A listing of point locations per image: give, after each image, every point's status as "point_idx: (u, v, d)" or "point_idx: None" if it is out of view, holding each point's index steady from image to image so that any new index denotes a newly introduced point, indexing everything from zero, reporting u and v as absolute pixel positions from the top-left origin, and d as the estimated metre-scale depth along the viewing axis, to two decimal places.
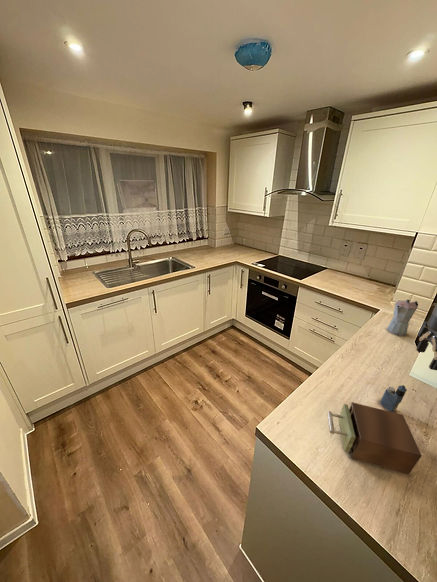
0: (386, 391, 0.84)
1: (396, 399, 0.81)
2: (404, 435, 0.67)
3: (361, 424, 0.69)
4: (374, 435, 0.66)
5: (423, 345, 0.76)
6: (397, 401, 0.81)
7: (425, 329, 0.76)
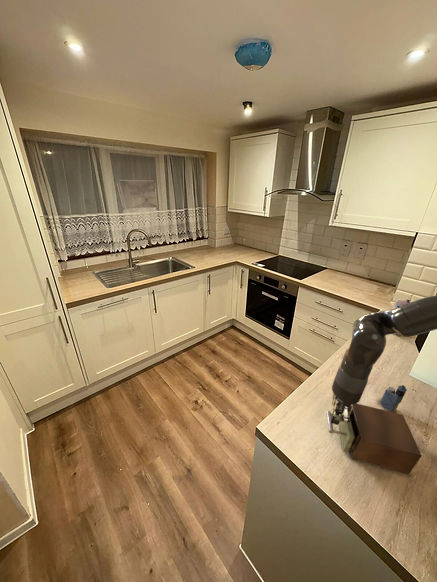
0: (386, 391, 0.84)
1: (396, 399, 0.81)
2: (404, 435, 0.67)
3: (361, 424, 0.69)
4: (374, 435, 0.66)
5: None
6: (397, 401, 0.81)
7: None
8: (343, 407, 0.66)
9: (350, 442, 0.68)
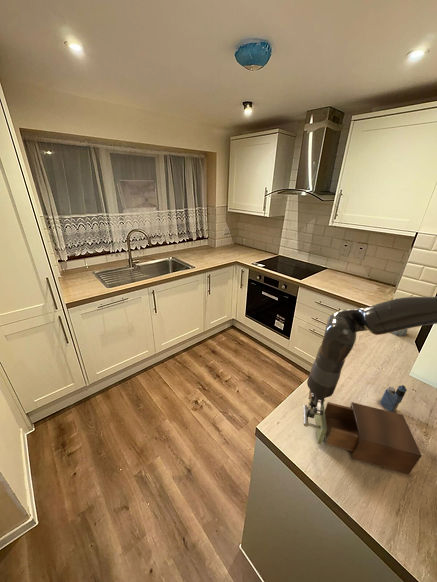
0: (386, 391, 0.84)
1: (396, 399, 0.81)
2: (404, 435, 0.67)
3: (361, 424, 0.69)
4: (374, 435, 0.66)
5: None
6: (397, 401, 0.81)
7: None
8: (316, 400, 0.67)
9: (323, 434, 0.70)
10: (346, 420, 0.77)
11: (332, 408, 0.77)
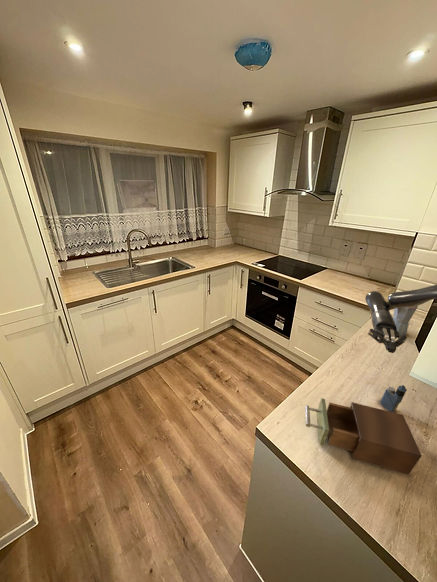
0: (386, 391, 0.84)
1: (396, 399, 0.81)
2: (404, 435, 0.67)
3: (361, 424, 0.69)
4: (374, 435, 0.66)
5: None
6: (397, 401, 0.81)
7: None
8: None
9: (325, 435, 0.69)
10: (348, 421, 0.77)
11: (334, 408, 0.77)
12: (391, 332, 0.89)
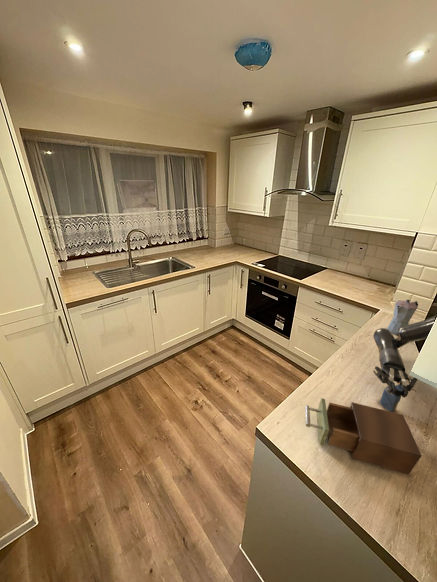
0: (384, 391, 0.84)
1: (394, 398, 0.81)
2: (404, 435, 0.67)
3: (361, 424, 0.69)
4: (374, 435, 0.66)
5: None
6: (395, 401, 0.81)
7: None
8: None
9: (325, 435, 0.69)
10: (348, 421, 0.77)
11: (334, 408, 0.77)
12: (400, 374, 0.85)
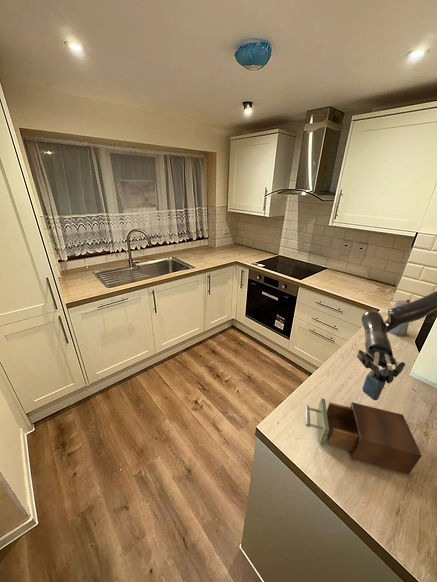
0: (367, 376, 0.74)
1: (378, 384, 0.71)
2: (404, 435, 0.67)
3: (361, 424, 0.69)
4: (374, 435, 0.66)
5: None
6: (379, 387, 0.71)
7: None
8: None
9: (325, 435, 0.69)
10: (348, 421, 0.77)
11: (334, 408, 0.77)
12: (385, 357, 0.75)
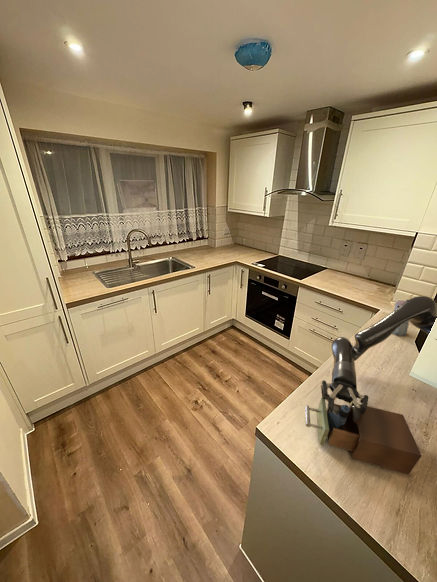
0: None
1: (339, 420, 0.71)
2: (404, 435, 0.67)
3: (361, 424, 0.69)
4: (374, 435, 0.66)
5: (353, 412, 0.70)
6: (340, 423, 0.71)
7: None
8: None
9: (325, 435, 0.69)
10: (348, 421, 0.77)
11: None
12: (350, 392, 0.74)
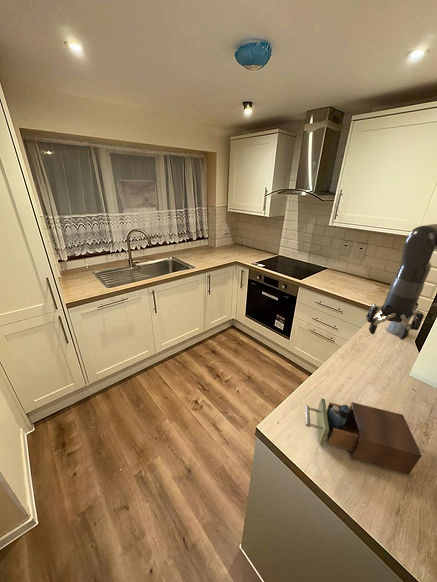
0: (330, 410, 0.74)
1: (339, 420, 0.71)
2: (404, 435, 0.67)
3: (361, 424, 0.69)
4: (374, 435, 0.66)
5: (402, 331, 0.76)
6: (340, 423, 0.71)
7: (414, 318, 0.74)
8: (382, 306, 0.75)
9: (325, 435, 0.69)
10: (348, 421, 0.77)
11: None
12: (402, 319, 0.73)
